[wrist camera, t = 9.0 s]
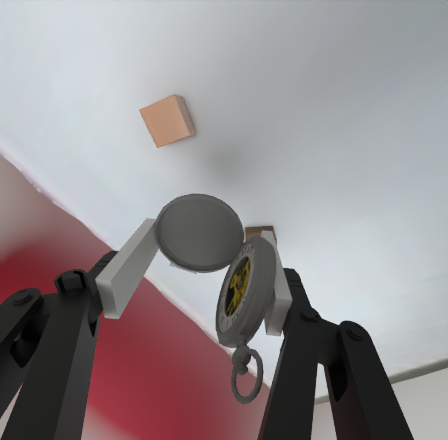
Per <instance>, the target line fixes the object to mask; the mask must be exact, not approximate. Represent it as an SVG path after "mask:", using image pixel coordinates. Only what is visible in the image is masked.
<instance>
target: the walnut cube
mask: <svg viewBox="0 0 448 440" xmlns="http://www.w3.org/2000/svg"><path fill="white" fill-rule="evenodd" d="M245 229H246V241H247V240H249V239H250V238H251V237H254V236H257V235H258V236H260V237H261V233H262V230H265V231H272V233H273V236H274V240H275V243H276V246H277V239H276V236H275V233H274V230H273V226H262V227H245Z"/></svg>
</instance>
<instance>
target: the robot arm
mask: <svg viewBox="0 0 448 440" xmlns="http://www.w3.org/2000/svg"><path fill="white" fill-rule="evenodd" d="M156 220H157V219H148V218H147V219H146V220H145V221H144V222H143V224H142V225H141V226H140V227H139V228H138V229H137V231H136V232H135V233H134V234H133V235H132V236H131V238H130V239H129V240H128V241H127V242H126V243H125V245H124V246H123V247H122V248H121V249H120V251H110V252H109V253H107V254H105V255H104V256H103V257H102V258H101V259H100V260H99V262H97V263H96V264H95V266H94V267H93V268H92V269H91V270H90V271H89V272H88V273H86V272H85V271H84V270H81V269H73V270H69V271H67V272H64V273H62V274H60V275H59V276H58V277H56V279H55V280H54V283H55V285H56V288H57V291H58V293H52V294H45V295H42V294H41V291H40V290H39V289H37V288H27V289H23V290H20V291H18V292H16V293H14V294H12V295H11V296H9V297H8V298H7V299H6V300H5V301H4V302H3V303H2V304H1V305H0V418H1V416H2V415H3V413H4V412H5V410H6V409H7V407H8V406H9V404H10V402H11V401H12V399H13V398H14V396H15V395H16V393H17V391H18V390H19V388H20V386H21V385H22V384H23V385H22V387H21V390H20V392H19V395H18V397H17V400H16V402H15V405H14V407H13V410H12V412H11V415H10V417H9V420H8V422H7V425H6V428H5V430H4V432H3V435H2V437H1V440H81V435H82V429H83V422H84V416H85V410H86V404H87V398H88V391H89V385H90V378H91V373H92V366H93V360H94V354H95V348H96V341H97V335H98V329H99V315H100V314H101V312H102V311H103V312H104V316H105V318H114V319H119V318H120V316H121V314H122V312H123V311H124V309H125V307H126V305H127V304H128V302H129V300H130V298H131V296H132V295H133V293H134V291H135V289H136V288H137V286H138V284H139V282H140V281H141V279H142V277H143V276H144V274H145V272H146V270H147V269H148V267H149V265H150V263H151V262H152V260H153V258H154V256H155V255H156V253H157V251H158V249H159V247H158V245H157V242H156V239H155V232H154V228H155V222H156ZM261 237H263V238H265V239H266V240H267V241H268V242H270V243H271V244H272V245H273V247H274V250H275V253H276V277H275V284H274V289H273V293H272V297H271V300H270V304H269V306H268V309H267V312H266V314H265V317H264V321H265V329H266V335H273V336H281V333H282V330H283V334H284V340H283V343H282V346H281V349H280V355H279V358H278V362H277V366H276V370H275V374H274V378H273V381H272V385H271V389H270V393H269V397H268V401H267V404H266V408H265V412H264V416H263V420H262V424H261V427H260V431H259V435H258V439H257V440H311V432H312V421H313V409H314V399H315V388H316V377H317V366H318V363H320V364H322V365H323V366H324V371H325V377H326V382H327V388H328V393H329V398H330V404H331V409H332V414H333V420H334V425H335V431H336V436H337V440H414V438H413V436H412V434H411V432H410V429H409V427H408V424H407V422H406V420H405V417H404V415H403V412H402V410H401V408H400V405H399V403H398V401H397V398H396V396H395V394H394V391H393V389H392V386H391V384H390V382H389V379H388V377H387V375H386V372H385V370H384V367H383V365H382V363H381V360H380V358H379V356H378V353H377V351H376V349H375V346H374V344H373V341H372V339H371V337H370V335H369V334H368V332H367V331H366V330H365V329H364V328H363V327H362V326H360V325H359V324H357V323H355V322H352V321H343V322H341V324H340V325H337V324H334V323H332V322H329V321H326V320H324V319H322V318H321V316H320V315H319V313H318V312H317V311H316V310H315V309H314V308H312V307H311V305H310V302H309V300H308V297H307V295H306V292H305V289H304V288H303V284H302V282H301V279H300V276H299V274H298V273H297V272H296V271H295V270H294V269H289V268H283V267H282V263H281V260H280V257H279V253H278V250H277V246H276V243H275V240H274V236H273V233H272V231H265V230H262V233H261Z"/></svg>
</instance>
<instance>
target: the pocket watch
mask: <svg viewBox="0 0 448 440" xmlns="http://www.w3.org/2000/svg"><path fill="white" fill-rule="evenodd" d="M154 232H155V239H156V242H157V245H158V247H159V249H160V251H161V252H162V253H163V254H164V255H165V256H166V258H167V259H168V260H169V261H170V262H172V263H173V264H175V265H176V266H178V267H180V268H183V269H185V270H188V271H193V272H199V273H208V272H214V271H218V270H221V269H223V268H225V267H226V266H228V265H230V267H229V269H228V271H227V273H226V276H225V279H224V282H223V285H222V288H221V291H220V295H219V299H218V304H217V311H216V331H217V336H218V339H219V343H220V344H222V345H223V346H226V347H229V348H236V347H237V349H236V350H235V352H234V353H233V356H232V363H233V365H234V367H233V370H232V376H231V387H232V391H233V394H234V396H235V398H236V400H237V401H238V402H240V403H242V404H245V403H250V402H251V401H252V400H253V399H254V398H255V397H256V396H257V394H258V393H259V391H260V388H261V385H262V381H263V363H262V359H261V357H260V355H259V354H258V352H257V351H256V350H254V349H250V348H249V347H248V346H247V343H248V342H249V341H250V340H251V339H252V338H253V336H254V335H255V333H256V332H257V330H258V329H259V327H260V325H261V323H262V321H263V319H264V317H265V314H266V312H267V309H268V306H269V304H270V300H271V297H272V293H273V289H274V284H275V277H276V253H275V250H274V247H273V245H272V244H271V243H270V242H268V241H267V240H266V239H265V238H263V237H260V236H258V235H257V236H254V237H251V238H250V239H249V240H247V241H246V242H245V243H243V241H244V232H243V227H242V223H241V221H240V219H239V217H238V215H237V214H236V213H235V212H234V210H233V209H232V208H231V207H230V206H229V205H227V204H226V203H225V202H223V201H222V200H220V199H218V198H215V197H213V196H209V195H205V194H189V195H184V196H180V197H177V198H176V199H174V200H172V201H171V202H170V203H168V204H167V205H166V206H164V207H163V209H162V210H161V212H160V213H159V215H158V217H157V220H156V222H155V228H154ZM244 281H245V282H244ZM251 355H252V356H253V357H254V358H255V359H256V362H257V380H256V384H255V387H254V389H253V391H252V392H251V394H250V395H248V396H246V397H243V396H241V395H240V394H239V392H238V390H237V387H236V376H237V373H239V374H240V375H244V374H245V373H246V372H247V371H248V368H247V366H246V365H247V364H248V363H249V362H250V359H251Z"/></svg>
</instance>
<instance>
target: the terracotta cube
mask: <svg viewBox="0 0 448 440" xmlns="http://www.w3.org/2000/svg"><path fill="white" fill-rule="evenodd" d="M139 111H140V113H141V115H142V117H143V119H144V121H145V124H146V126H147V128H148V130H149V132H150V134H151V136H152V138H153V141H154V143H155V145H156V147H157V148H159V147H162V146H164V145H167V144H169V143H172V142H174V141H177V140H179V139H182V138H184V137H187V136H190V135H192V134H194V133H196V131H195V128H194V126H193V123H192V120H191V118H190V115H189V113H188V110H187V107H186V105H185V102H184V100H183V97H180V96H176V95H172V96H170V97H167V98H165V99H163V100H161V101H158V102H156V103H154V104H152V105H149V106H147V107H145V108H142V109H140V110H139Z"/></svg>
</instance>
